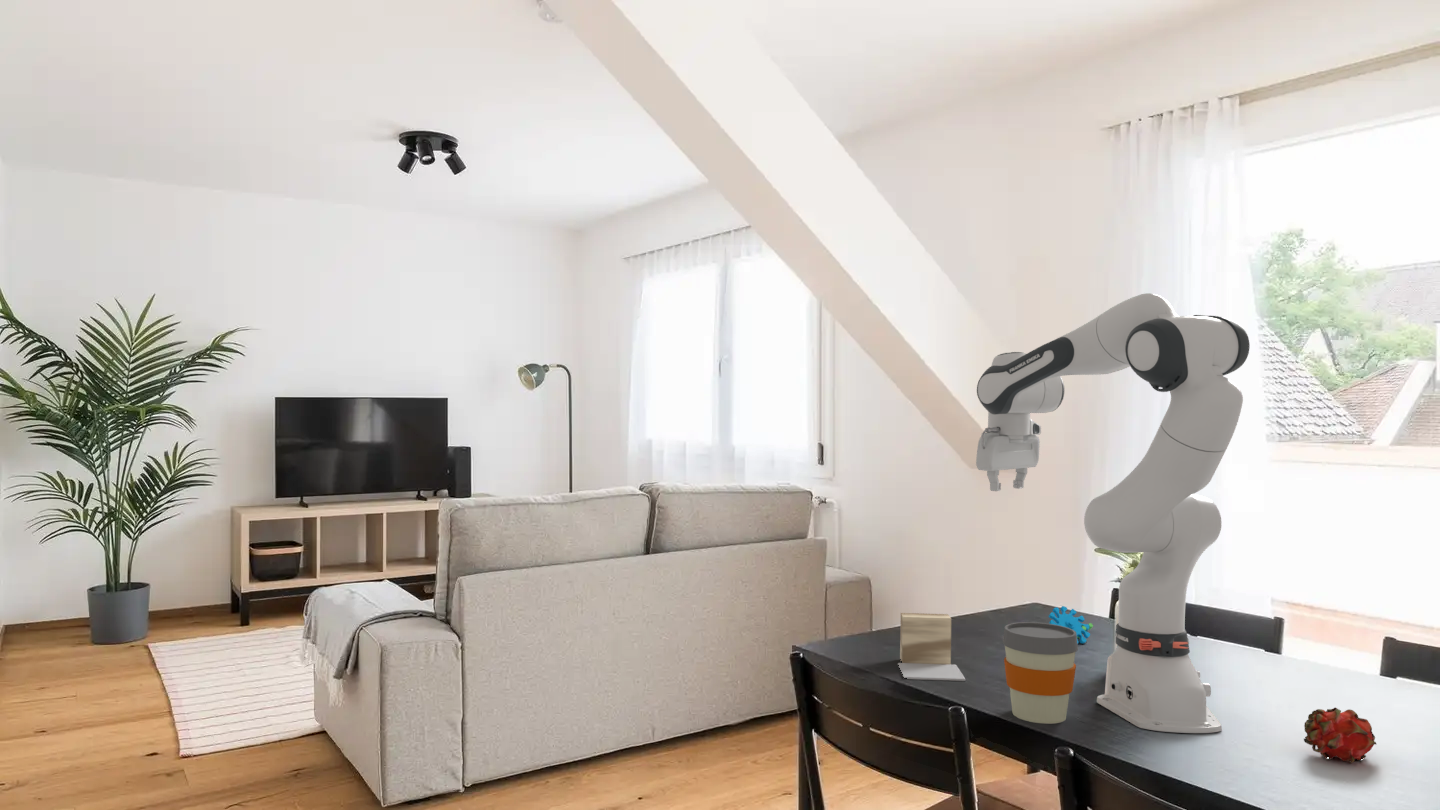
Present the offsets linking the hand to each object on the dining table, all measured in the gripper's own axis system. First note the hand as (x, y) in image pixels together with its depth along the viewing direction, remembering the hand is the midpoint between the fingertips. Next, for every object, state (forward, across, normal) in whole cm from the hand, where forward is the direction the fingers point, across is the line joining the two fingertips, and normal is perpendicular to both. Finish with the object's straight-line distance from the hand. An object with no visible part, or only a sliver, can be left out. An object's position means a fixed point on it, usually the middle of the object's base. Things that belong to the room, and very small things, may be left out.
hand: (1007, 489), depth 209 cm
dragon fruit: (+35, -16, -69) cm, 78 cm away
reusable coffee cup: (+35, -33, -27) cm, 56 cm away
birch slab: (+36, -20, +6) cm, 42 cm away
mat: (+36, -25, +1) cm, 44 cm away
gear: (+37, +22, -4) cm, 43 cm away
